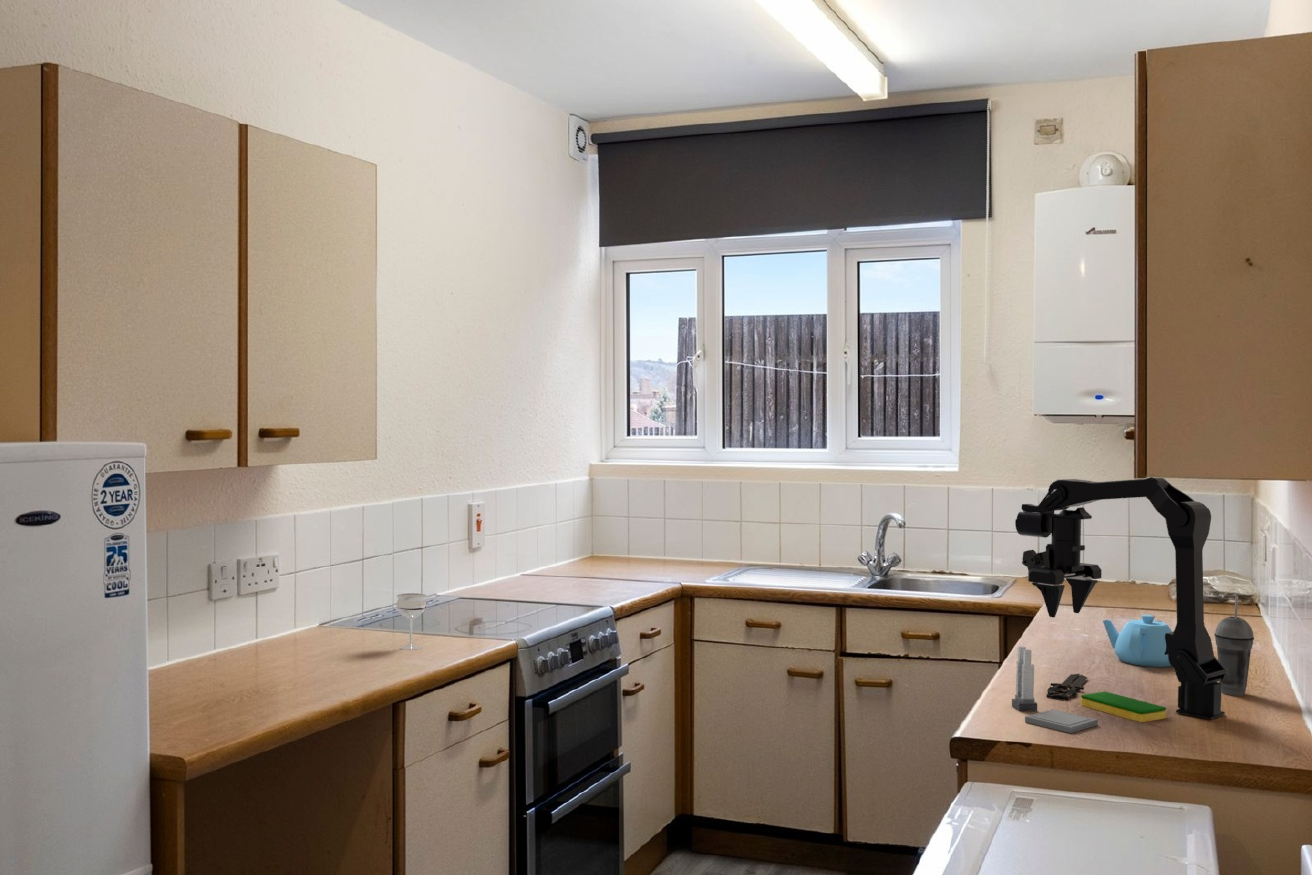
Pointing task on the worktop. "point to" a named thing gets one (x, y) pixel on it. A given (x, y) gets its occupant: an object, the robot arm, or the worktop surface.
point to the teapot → (1140, 641)
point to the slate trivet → (1061, 721)
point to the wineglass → (411, 611)
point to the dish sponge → (1123, 706)
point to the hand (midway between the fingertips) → (1064, 615)
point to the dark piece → (1067, 682)
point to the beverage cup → (1234, 652)
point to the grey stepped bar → (1024, 682)
